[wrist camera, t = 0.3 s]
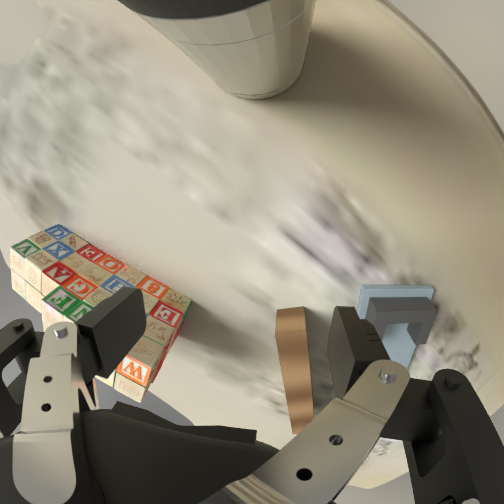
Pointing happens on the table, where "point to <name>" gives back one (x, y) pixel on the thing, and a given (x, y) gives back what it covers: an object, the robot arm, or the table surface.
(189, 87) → the table surface
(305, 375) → the slat
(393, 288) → the cap board
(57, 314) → the stack of blocks
